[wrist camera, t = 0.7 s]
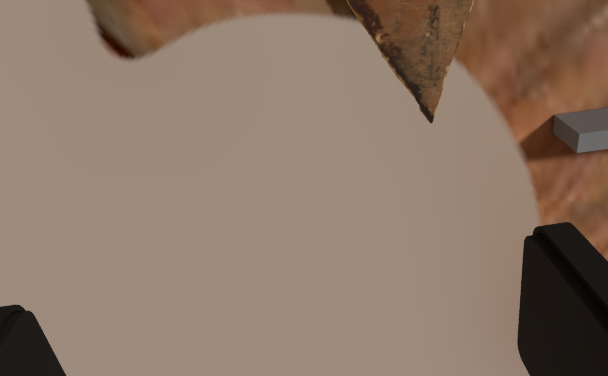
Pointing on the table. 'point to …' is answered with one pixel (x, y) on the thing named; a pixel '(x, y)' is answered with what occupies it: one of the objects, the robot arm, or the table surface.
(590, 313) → the robot arm
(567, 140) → the box
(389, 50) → the shard
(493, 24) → the table surface
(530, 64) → the table surface
